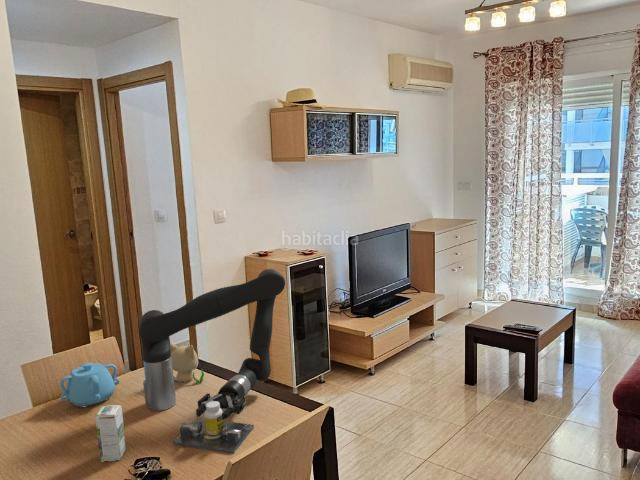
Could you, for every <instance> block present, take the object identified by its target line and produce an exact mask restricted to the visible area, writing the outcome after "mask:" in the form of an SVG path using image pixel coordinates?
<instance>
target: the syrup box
mask: <svg viewBox="0 0 640 480" xmlns="http://www.w3.org/2000/svg"><path fill="white" fill-rule="evenodd" d="M123 416H124V415H123V409H122V405H121V404H120V405H119V404H114V405H113V404H112V405H104V406H101V407H100V408H99V411H98V412H97V413H96V415H95V416H94V419H95V420H94V421H95V426H96V435H97V436H96V437H97V445H98V453H99V461H109V462H116V460H118V461H121V460H122V459H123V456H124V454H125V452H126V449H127V447H126V435H125V427H124V417H123Z"/></svg>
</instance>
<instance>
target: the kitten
mask: <svg viewBox="0 0 640 480" xmlns="http://www.w3.org/2000/svg"><path fill="white" fill-rule="evenodd" d="M170 347H171V359H172V368H173V371H175V372H177V373H176V376H174V375H173V377H174V382H182V383H186V382H190V381H192V380H194V381H195V382H196V384H202V383H203V382H204V376H205V372H204V370H203V369H200V371H201V376H200V378H199V379H198V378H196V377H195V371H194V370H196V369H197V367H198V365H199V358H198V354H197V352H196V351H195V349H194V346H193V345H192V344H190V345H180V346H177V345H175V344H174V343H171V342H170Z"/></svg>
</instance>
